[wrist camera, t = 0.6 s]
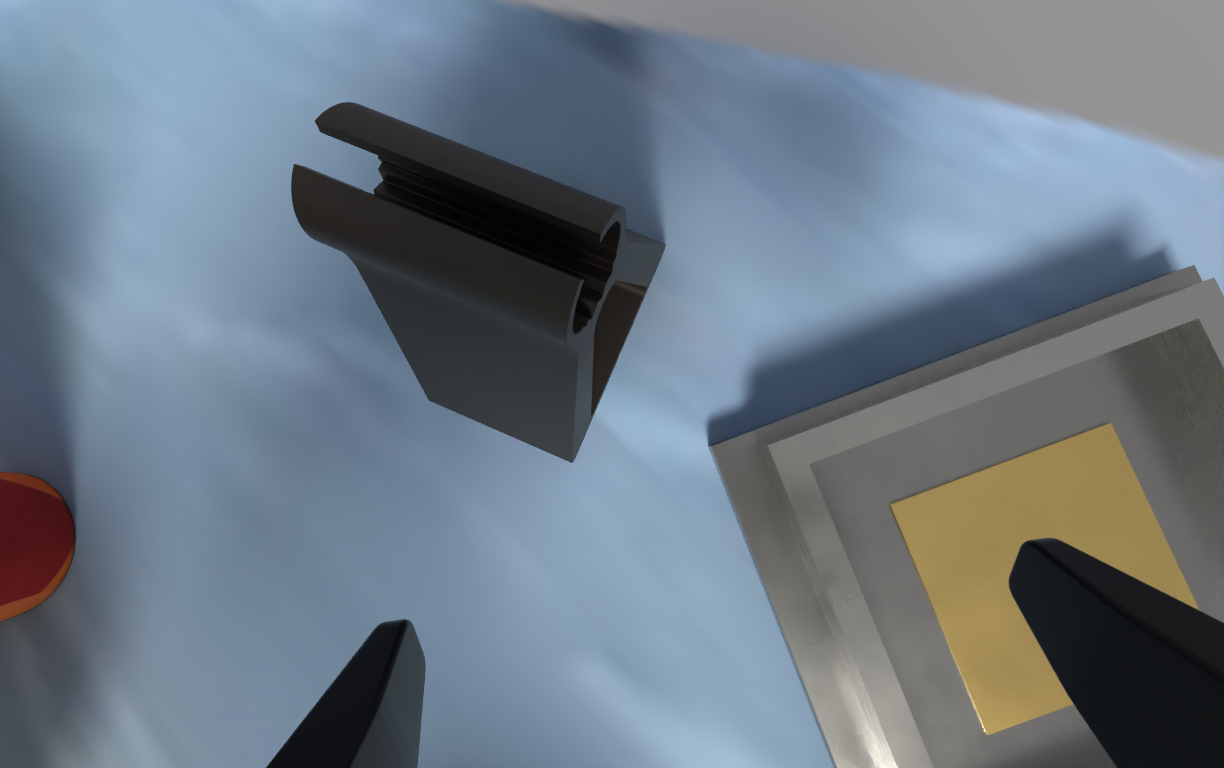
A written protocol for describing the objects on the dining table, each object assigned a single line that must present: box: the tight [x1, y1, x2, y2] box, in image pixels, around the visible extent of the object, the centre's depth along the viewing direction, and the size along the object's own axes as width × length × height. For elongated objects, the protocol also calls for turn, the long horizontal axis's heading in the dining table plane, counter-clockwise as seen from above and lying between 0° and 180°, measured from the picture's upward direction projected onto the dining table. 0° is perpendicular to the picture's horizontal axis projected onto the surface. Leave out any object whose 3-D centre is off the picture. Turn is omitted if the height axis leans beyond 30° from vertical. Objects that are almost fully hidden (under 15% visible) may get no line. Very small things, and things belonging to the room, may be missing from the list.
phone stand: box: [291, 102, 666, 463], centre depth 17 cm, size 9×6×12 cm, turn 157°
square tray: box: [708, 265, 1224, 768], centre depth 19 cm, size 18×16×3 cm
